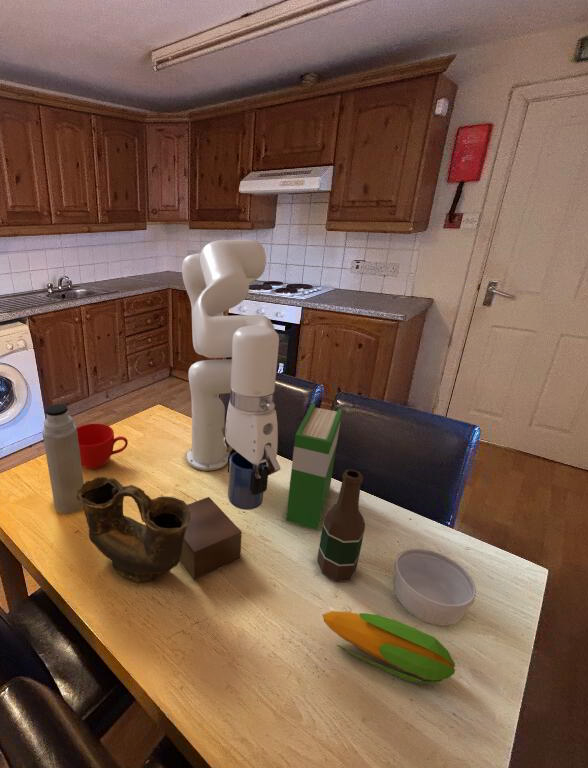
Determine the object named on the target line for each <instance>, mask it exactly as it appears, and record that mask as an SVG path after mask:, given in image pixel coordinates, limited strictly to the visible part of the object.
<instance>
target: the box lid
mask: <svg viewBox="0 0 588 768" xmlns="http://www.w3.org/2000/svg"><path fill="white" fill-rule="evenodd" d="M187 505H188V508H189V510H190V516H191V517H190V520H189V522H188V526H187V527H186V530H185V535H184V542H185V543H186V544H187V546H188V547H189V548H190V550H191V551H192V552H193V554H194V555H195V554H198V553H200V552H202V551H205V550H207V549H209V548H212V547H214V546H216V545H219V544H221V543H223V542H226V541H228V540H230V539H232V538H235V537H237V536H239V535H242V534H243V532H242V530H241V529H240V528H239V527H238V526H237V525H236V524H235V523H234V522H233V521H232V520H231V518H230V517H229V516H228V515H227V514H226V513H225V512H224V511H223V510H222V509H221V508H220V507H219V506H218V504H216V503H215V501H213V499H212V498H211V497H210V496H207V497H204V498H201V499H199V500H196V501H194V502H191V503H187ZM242 536H243V535H242Z"/></svg>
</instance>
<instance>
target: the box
mask: <svg viewBox="0 0 588 768" xmlns="http://www.w3.org/2000/svg"><path fill="white" fill-rule="evenodd" d="M242 536H243V535H239V536H237V537H235V538H232V539H230V540H228V541H226V542H223V543H221V544H219V545H216V546H214V547H212V548H209V549H207V550H205V551H202V552H200V553H198V554H195V555H194V554H193V552H192V551H191V550H190V548H189V547H188V546H187V544H186V543H185V542H184V540H183V543H182V553H181V557H180V562H181V563H182V565H183V566H184V567H185V569H186V570H187V572H188V573H189V574H190V576H191V578H192V579H193V580H194V581H196V580H198V579H200V578H202V577H204V576H207V575H209V574H210V573H213V572H216V571H217V570H219V569H221V568H224V567H226V566H228V565H231V564H232V563H234V562H236V561H239V560H241V552H242V538H243V537H242Z"/></svg>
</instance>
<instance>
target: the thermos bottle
mask: <svg viewBox="0 0 588 768" xmlns="http://www.w3.org/2000/svg"><path fill="white" fill-rule="evenodd" d="M45 413H46V419H45V420H44V422H43V429H42V431H41V433H42V439H43V444H44V450H45V457H46V464H47V468H48V474H49V482H50V486H51V492H52V500H53V506H54V509H55V510H56V511H57V513H59V514H65V515H69V514H75V513H77V512H79V511H80V510H82V509H84V508H83V505H82V504H81V502H80V501H79V500H78V499H77V494H78V490H80V489H81V488H82V485H83V484H85V481H84V474H83V465H81V458H80V450H79V442H78V434H77V428H78V427H77V425H76V423H74V418H73V417H72V416H71V415H70V414H69V412H68V406H67V405H66V404H64V403H56V404H55V403H54V404H52V405H48V406H47V407H46V408H45Z"/></svg>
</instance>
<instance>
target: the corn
mask: <svg viewBox="0 0 588 768" xmlns="http://www.w3.org/2000/svg"><path fill="white" fill-rule="evenodd" d="M322 619H323V623H325V625H326V626H327V627H328V629H330V630H331V631H332V632H334V633H335V634H336V635H337V636H338V637H340V638H341V639H342V640H345V641H346V642H348V643H349V644H352V645H353V646H355V647H357V648H358V649H360V650H362V651H363V652H365V653H367V654H368V655H370V656H372V657H374V658H376V659H378V660H381V661H382V662H385V663H387V664H389V665H391V666H393V667H396V668H398V669H400V670H402V671H404V672H406V673H409V674H411V675H413V676H415V677H413V676H410V675H408V674H405V673H403V672H400V671H397V670H396V669H392V668H390V667H388V666H384V665H382V664H379V663H377V662H375V661H372V660H370V659H368V658H365V657H364V656H361V655H359V654H357V653H355V652H353V651H351V650H349V649H347V648H345V647H344V646H341V645H339V644H336V646H337V647H338V648H340V649H342V650H344V651H345V652H347V653H349V654H351V655H352V656H354V657H356V658H358V659H360V660H363V661H364V662H366V663H368V664H371V665H373V666H374V667H377V668H380V669H382V670H384V671H385V672H388V673H389V674H392V675H394V676H396V677H398V678H401V679H403V680H404V681H406V682H409V683H413V684H425V685H433V684H438V683H440V682H442V681H445V680H448V679H449V678H451V677H452V676H453V675H455V672H456V668H455V667H456V663H455V661H454V659H453V657H452V655H451V653H450V651H449V650H448V649H447V648H446V647H445V645H443V644H442V643H441V642H440V641H439V640H438V639H437V638H436V637H435V636H433V635H432V634H431V635H430V634H428V633H426V632H424V631H421V630H419V629H417V628H415V627H413V626H410V625H408V624H406V623H404V622H401V621H399V620H396V619H393V618H391V617H387V616H383V615H380V614H374V613H368V612H367V613H366V612H360V613H355V612H348V611H338V610H337V611H336V610H332V611H328V612H326V613H323V614H322ZM416 677H420V678H423V679H422V680H421V679H418V678H416Z"/></svg>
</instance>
